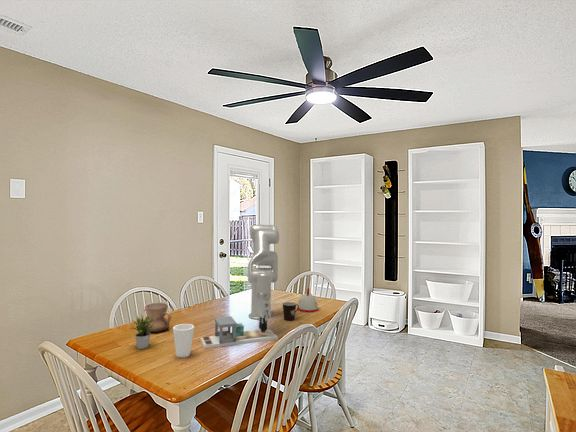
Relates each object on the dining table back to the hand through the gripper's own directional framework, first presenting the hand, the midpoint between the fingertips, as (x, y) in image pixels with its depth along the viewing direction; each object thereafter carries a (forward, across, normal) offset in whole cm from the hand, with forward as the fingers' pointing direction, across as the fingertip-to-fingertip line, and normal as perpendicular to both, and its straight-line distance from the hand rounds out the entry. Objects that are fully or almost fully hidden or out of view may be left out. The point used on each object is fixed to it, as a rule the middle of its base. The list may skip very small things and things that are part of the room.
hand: (263, 329), depth 189 cm
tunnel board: (+4, 0, +13) cm, 14 cm away
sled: (+2, 0, +8) cm, 9 cm away
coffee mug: (+4, +24, -27) cm, 37 cm away
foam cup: (+4, -10, +43) cm, 44 cm away
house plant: (+4, +4, +60) cm, 60 cm away
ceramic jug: (+4, +30, +53) cm, 61 cm away
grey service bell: (+4, +42, -47) cm, 63 cm away
